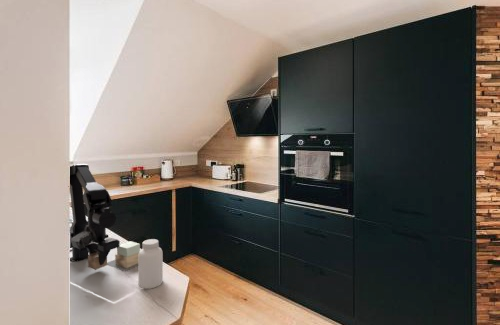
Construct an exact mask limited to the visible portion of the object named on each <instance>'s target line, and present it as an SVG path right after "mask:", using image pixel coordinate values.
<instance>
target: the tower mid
mask: <svg viewBox="0 0 500 325" xmlns="http://www.w3.org/2000/svg"><path fill="white" fill-rule="evenodd" d="M140 250H141V244H140V243H137V242H135V241H130V240H129V241H126V242H124V243H121V244H120V246H119V247H117V248H116V254H118V255H121V256H124V257H129V256H132V255H134V254H137V253H139V252H140Z"/></svg>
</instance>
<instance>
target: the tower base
mask: <svg viewBox="0 0 500 325" xmlns="http://www.w3.org/2000/svg"><path fill="white" fill-rule="evenodd" d="M138 254H139V253H137V254H134V255H132V256H129V257H124V256H121V255H118V254H117V253H115V255H114V257H115V259H114V260H115V264H117V265H119V266H122V267H125V268H128V267H131V266H133V265H135V264H137V263H138Z"/></svg>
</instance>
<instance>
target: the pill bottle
mask: <svg viewBox="0 0 500 325" xmlns="http://www.w3.org/2000/svg"><path fill="white" fill-rule="evenodd" d="M159 243H160V242H159V240H158V239H155V238H151V239H150V238H149V239H146V240H144V241H143V242H142V244H141V246H142V248H140V252H139V254H138V266H137V267H138V268H137V269H138V270H137V271H138V276H137V277H138V278H137V279H138V281H137V282H138V285H139V287H140V288H141V289H146V290H148V289H154V288H157V287H159V286H160V285H162V283H163V278H164V277H163V276H164V275H163V272H164V271H163V264H164V263H163V261H164V260H163V256H164V255H163V250H162V248H161V247H160V244H159Z"/></svg>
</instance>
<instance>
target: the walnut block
mask: <svg viewBox="0 0 500 325" xmlns="http://www.w3.org/2000/svg"><path fill="white" fill-rule="evenodd" d="M107 263H108V257H107V258H106V260H105V262H104V264H103V265H100V263H99V256H98V252H96V253H93V254H90V255H88V258H87V264H88V265H87V267H88V268H89V269H93V270H95V271H96V270H99V269H102V268H104V267H106V266H108V265H107Z"/></svg>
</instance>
